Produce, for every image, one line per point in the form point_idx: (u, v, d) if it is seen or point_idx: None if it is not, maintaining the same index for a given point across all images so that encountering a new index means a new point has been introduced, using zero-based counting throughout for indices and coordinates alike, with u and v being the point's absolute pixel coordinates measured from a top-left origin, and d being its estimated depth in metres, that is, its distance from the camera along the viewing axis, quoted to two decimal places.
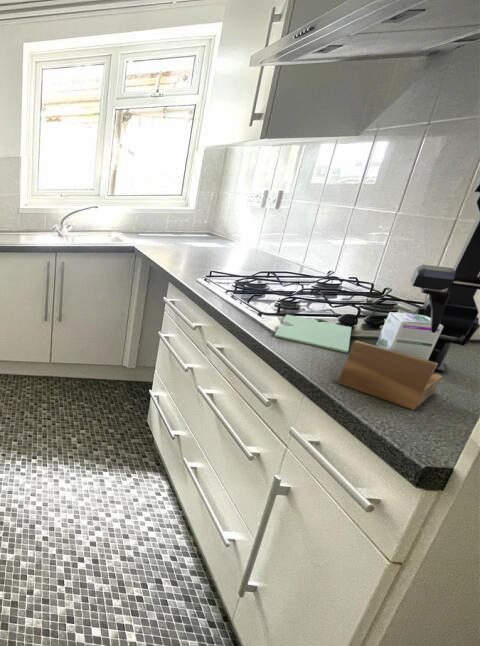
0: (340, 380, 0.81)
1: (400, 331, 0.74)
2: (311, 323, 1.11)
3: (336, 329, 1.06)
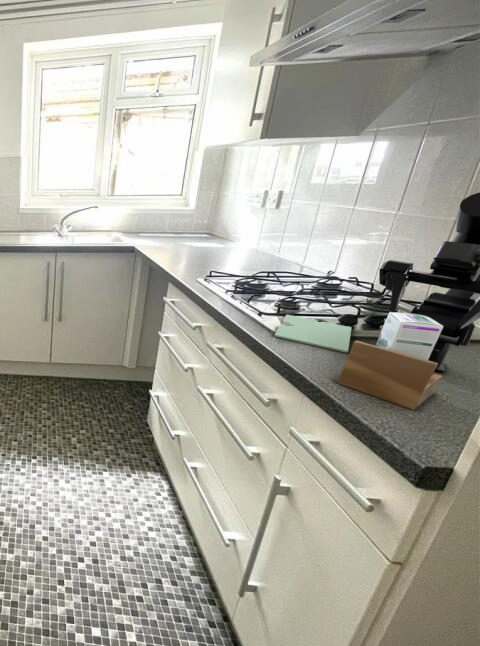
0: (340, 380, 0.81)
1: (400, 331, 0.74)
2: (311, 323, 1.11)
3: (336, 329, 1.06)
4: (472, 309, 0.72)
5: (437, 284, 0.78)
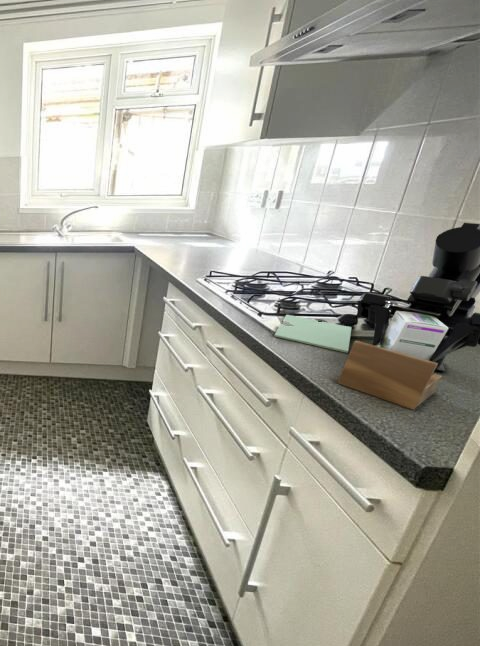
0: (340, 380, 0.81)
1: (404, 331, 0.73)
2: (311, 323, 1.11)
3: (336, 329, 1.06)
4: (443, 344, 0.72)
5: None
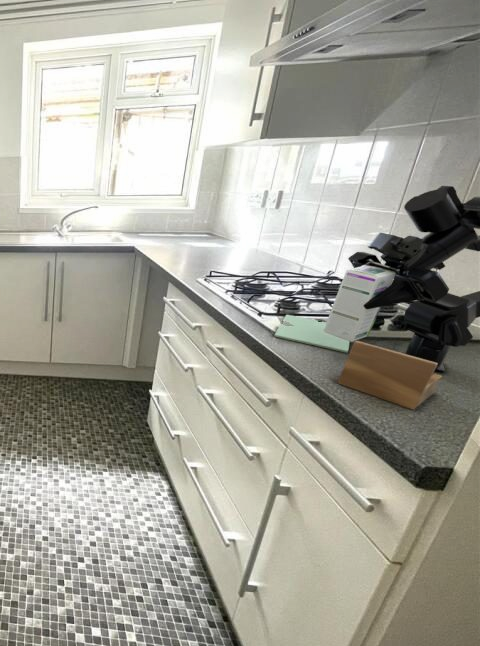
0: (340, 380, 0.81)
1: (345, 278, 0.85)
2: (311, 323, 1.11)
3: None
4: (380, 293, 0.81)
5: None
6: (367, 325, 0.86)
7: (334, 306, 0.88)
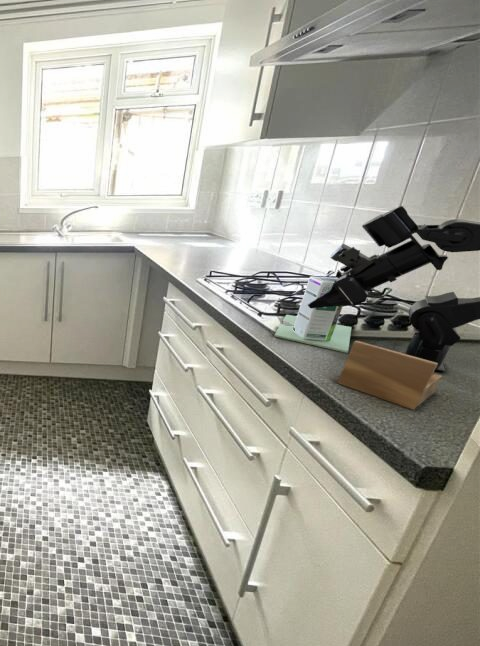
0: (340, 380, 0.81)
1: (308, 283, 1.00)
2: None
3: (336, 329, 1.06)
4: (321, 295, 0.94)
5: None
6: (322, 328, 0.98)
7: (300, 308, 1.02)
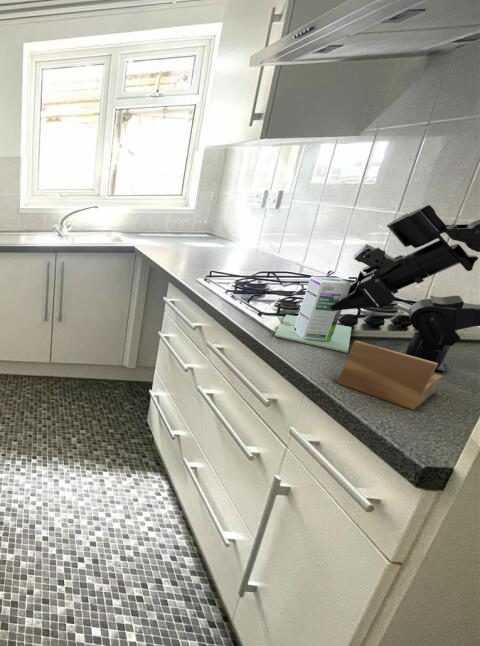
0: (340, 380, 0.81)
1: (309, 283, 1.00)
2: None
3: (336, 329, 1.06)
4: (345, 297, 0.91)
5: None
6: (322, 328, 0.98)
7: (301, 308, 1.03)
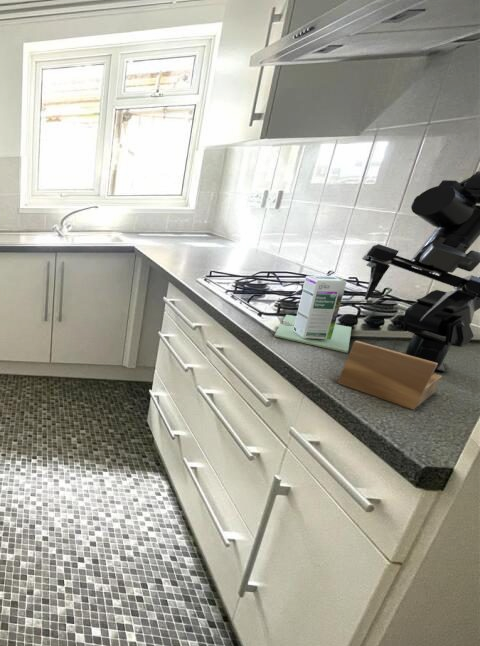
0: (340, 380, 0.81)
1: (304, 283, 1.01)
2: None
3: (336, 329, 1.06)
4: (438, 306, 0.79)
5: (415, 272, 0.81)
6: (321, 326, 0.98)
7: (299, 308, 1.03)
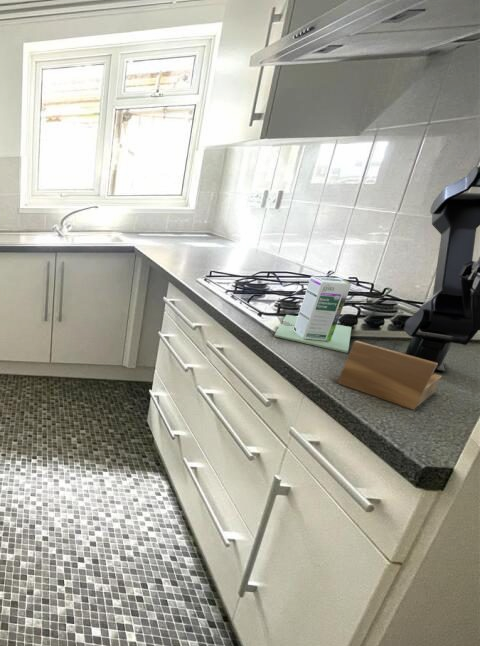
0: (340, 380, 0.81)
1: (309, 283, 1.00)
2: None
3: (336, 329, 1.06)
4: None
5: None
6: (322, 328, 0.98)
7: (301, 308, 1.03)
